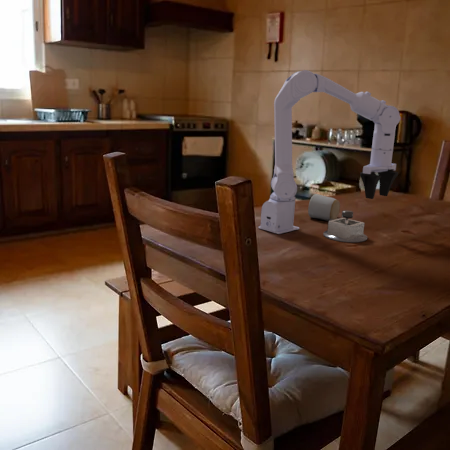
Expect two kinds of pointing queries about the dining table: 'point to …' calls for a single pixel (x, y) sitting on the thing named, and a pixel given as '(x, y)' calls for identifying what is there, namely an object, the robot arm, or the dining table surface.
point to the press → (345, 231)
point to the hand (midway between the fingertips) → (376, 197)
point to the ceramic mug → (323, 207)
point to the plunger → (347, 215)
